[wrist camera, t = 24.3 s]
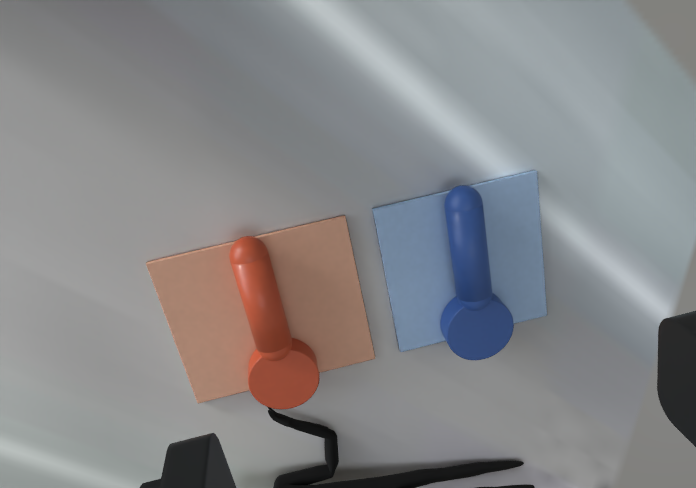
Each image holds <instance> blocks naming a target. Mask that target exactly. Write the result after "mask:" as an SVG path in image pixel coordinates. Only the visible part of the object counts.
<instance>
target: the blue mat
mask: <svg viewBox="0 0 696 488" xmlns="http://www.w3.org/2000/svg"><path fill="white" fill-rule="evenodd" d="M470 187H472V188H474V189H476V190H477V191H478V192H479V194H480V195H481V197H482V201H483V209H484V218H485V228H486V237H487V246H488V256H489V265H490V274H491V284H492V293H494V294H495V295H496V296H497V297H499V298H500V300H501V301H502V302H503V303H504V304H505V306H506V307H507V308H508V309H509V311H510V312H511V314H512V317H513V324H515V323H518V322H522V321H526V320H530V319H534V318H538V317H542V316H546V315H547V308H546V293H545V279H544V264H543V250H542V235H541V221H540V206H539V192H538V177H537V171H535V170H533V171H529V172H525V173H521V174H516V175H512V176H508V177H504V178H499V179H495V180H491V181H487V182H483V183H478V184H474V185H470ZM450 191H451V190H449V191H445V192H440V193H436V194H432V195H428V196H424V197H419V198H415V199H411V200H407V201H402V202H398V203H394V204H390V205H386V206H381V207H377V208H373V214H374V219H375V225H376V230H377V235H378V240H379V246H380V251H381V256H382V261H383V266H384V272H385V277H386V282H387V287H388V293H389V298H390V303H391V308H392V314H393V319H394V324H395V329H396V335H397V340H398V345H399V350H400V352H404V351H408V350H411V349H415V348H419V347H423V346H427V345H431V344H435V343H439V342H443V341H446V340H445V338H444V336H443V334H442V332H441V327H440V320H441V316H442V313H443V311H444V309H445V307H446V306H447V304H448V303H449V302H450V301H451V300H452V299H453V298H454V297H456V289H455V282H454V274H453V267H452V259H451V252H450V245H449V237H448V230H447V222H446V215H445V208H444V202H445V198H446V196H447V194H448V193H449V192H450Z"/></svg>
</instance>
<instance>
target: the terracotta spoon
mask: <svg viewBox="0 0 696 488" xmlns="http://www.w3.org/2000/svg"><path fill="white" fill-rule="evenodd" d="M229 258H230V263H231V266H232V269H233V272H234V276H235V279H236V282H237V286H238V289H239V292H240V296H241V299H242V302H243V305H244V309H245V312H246V315H247V319H248V322H249V325H250V329H251V332H252V335H253V338H254V342H255V345H256V348H257V349H256V350H255V351H254V353H253V354H252V356H251V358H250V361H249V366H248V385H249V389H250V392H251V393H252V395H253V396H254V398H255V399H256V400H257V401H258V402H260V403H261V404H263V405H265V406H267V407H270V408H274V409H289V408H293V407H297V406H299V405H301V404H303V403H304V402H306V401H307V400H308V399H309V398H311V396H312V395H313V394H314V392H315V391H316V389H317V387H318V384H319V370H318V364H317V359H316V356H315V354H314V352H313V350H312V349H311V348H310V347H309V346H308V345H307V344H305V343H304V342H302V341H300V340H298V339H295V338H292V337H291V334H290V330H289V326H288V323H287V319H286V315H285V312H284V308H283V304H282V301H281V297H280V293H279V290H278V286H277V282H276V279H275V275H274V271H273V268H272V264H271V260H270V257H269V253H268V250H267V247H266V245H265V244H264V243H263V242H262V241H261V240H260V239H258V238H256V237H252V236H246V237H242V238H240V239H238V240H237V241H235V243H234V244H233V245H232V247H231V249H230V253H229Z"/></svg>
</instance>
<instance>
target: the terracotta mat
mask: <svg viewBox="0 0 696 488" xmlns="http://www.w3.org/2000/svg"><path fill="white" fill-rule="evenodd" d="M255 237H256V238H258V239H260V240H261V241H262V242H263V243H264V244H265V245H266V247H267V250H268V253H269V257H270V260H271V264H272V268H273V271H274V275H275V279H276V282H277V286H278V290H279V293H280V297H281V301H282V304H283V308H284V312H285V315H286V319H287V323H288V326H289V330H290V334H291V337H292V338H295V339H298V340H300V341H302V342H304V343H305V344H307V345H308V346H309V347H310V348H311V349H312V350H313V352H314V354H315V356H316V359H317V364H318V370H319V373H320V372H324V371H328V370H332V369H336V368H340V367H344V366H348V365H352V364H356V363H360V362H364V361H368V360H372V359H375V354H374V349H373V344H372V340H371V335H370V330H369V326H368V321H367V316H366V311H365V307H364V302H363V297H362V293H361V288H360V283H359V278H358V274H357V269H356V264H355V260H354V255H353V250H352V245H351V241H350V236H349V231H348V227H347V222H346V217H345V215H343V216H339V217H335V218H331V219H326V220H322V221H318V222H314V223H310V224H305V225H301V226H297V227H293V228H288V229H284V230H280V231H276V232H272V233H267V234H263V235H259V236H255ZM234 243H235V241H234V242H229V243H225V244H221V245H217V246H213V247H208V248H204V249H200V250H196V251H191V252H187V253H183V254H179V255H175V256H170V257H166V258H162V259H158V260H153V261H149V262H147V263H146V265H147V268H148V271H149V273H150V276H151V279H152V281H153V284H154V287H155V290H156V292H157V295H158V298H159V300H160V303H161V306H162V308H163V311H164V314H165V316H166V319H167V322H168V325H169V327H170V330H171V333H172V335H173V338H174V341H175V343H176V346H177V349H178V351H179V354H180V357H181V360H182V362H183V365H184V368H185V370H186V373H187V376H188V378H189V381H190V384H191V387H192V389H193V392H194V395H195V397H196V400H197V403H201V402H205V401H209V400H213V399H217V398H221V397H225V396H229V395H233V394H237V393H241V392H245V391H249V390H250V389H249V385H248V366H249V361H250V358H251V356H252V354H253V353H254V351H255V350H256V349H257V348H256V345H255V342H254V338H253V335H252V332H251V329H250V325H249V322H248V319H247V315H246V312H245V309H244V305H243V302H242V299H241V296H240V292H239V289H238V286H237V282H236V279H235V276H234V272H233V269H232V266H231V263H230V258H229V253H230V249H231V247H232V245H233V244H234Z"/></svg>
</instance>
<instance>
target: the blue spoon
mask: <svg viewBox="0 0 696 488" xmlns="http://www.w3.org/2000/svg"><path fill="white" fill-rule="evenodd" d="M444 208H445V215H446V222H447V230H448V237H449V245H450V252H451V259H452V267H453V274H454V282H455V289H456V297H454V298H453V299H452V300H451V301H450V302H449V303H448V304H447V306H446V307H445V309H444V311H443V313H442V316H441V320H440V327H441V332H442V334H443V336H444V338H445V340H446V341H447V343H448V345H449V347H450V348H451V350H452V351H453V352H454V353H455V354H456V355H458V356H460V357H462V358H464V359H468V360H481V359H485V358H489V357H491V356H493V355H495V354H496V353H498V352H499V351H500V350H502V349H503V348H504V347H505V345H506V344H507V343H508V341H509V340H510V338H511V335H512V332H513V326H514V325H513V317H512V314H511V312H510V311H509V309H508V308H507V307H506V306H505V304H504V303H503V302H502V301H501V300H500V298H499V297H497V296H496V295H495V294H494V293H492V284H491V274H490V265H489V256H488V246H487V237H486V228H485V218H484V209H483V201H482V197H481V195H480V194H479V192H478V191H477V190H476V189H474V188H472V187H470V186H466V185H462V186H457V187H455V188H453V189H452V190H451V191H450V192H449V193H448V194H447V196H446V198H445V202H444Z"/></svg>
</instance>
